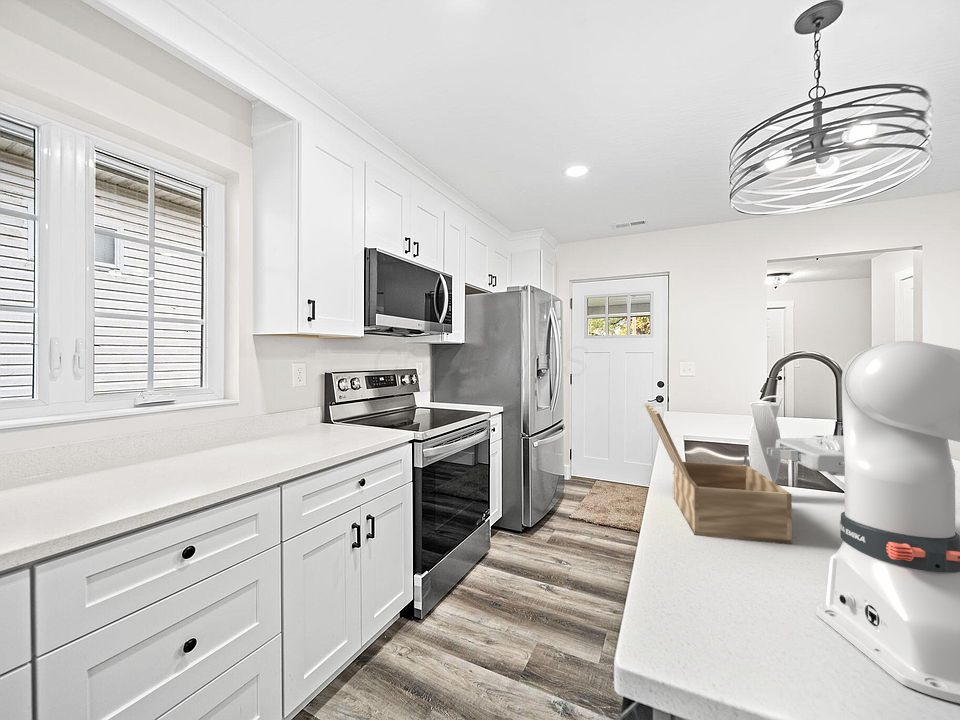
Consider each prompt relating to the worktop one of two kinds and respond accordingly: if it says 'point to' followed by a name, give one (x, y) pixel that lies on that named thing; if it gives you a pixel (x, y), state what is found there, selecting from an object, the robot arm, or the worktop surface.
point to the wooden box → (733, 503)
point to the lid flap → (667, 441)
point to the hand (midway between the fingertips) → (769, 452)
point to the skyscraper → (764, 438)
